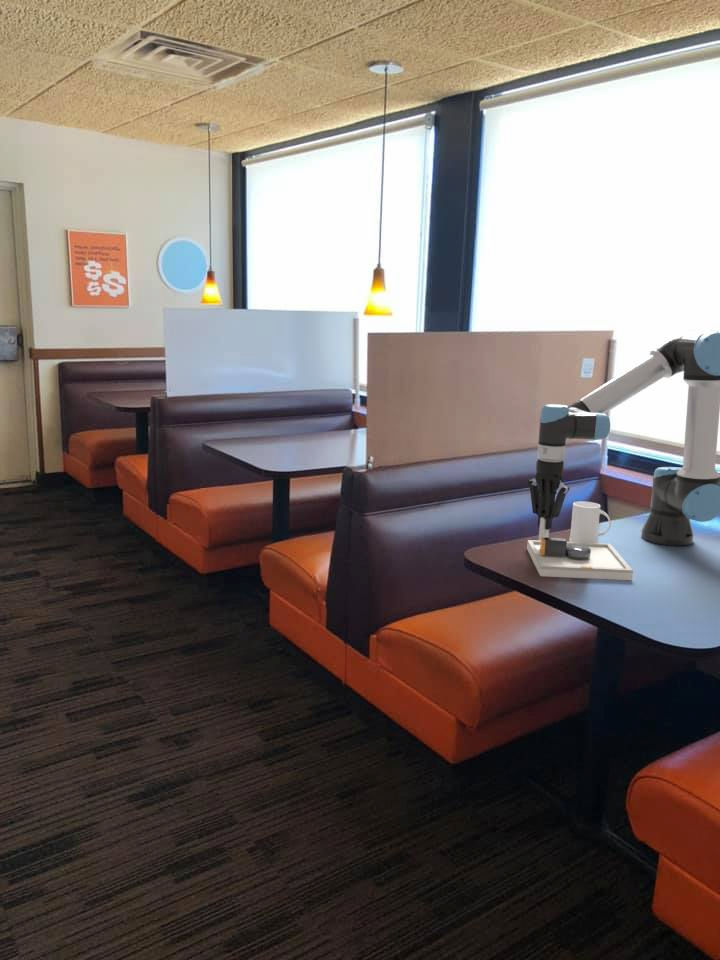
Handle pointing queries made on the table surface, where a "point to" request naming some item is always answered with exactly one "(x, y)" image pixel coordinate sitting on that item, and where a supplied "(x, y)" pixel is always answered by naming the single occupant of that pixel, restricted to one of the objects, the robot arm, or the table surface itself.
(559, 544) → the dark grey handled piece
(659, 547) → the table surface
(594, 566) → the white square tray
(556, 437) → the robot arm
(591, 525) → the mug
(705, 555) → the table surface
